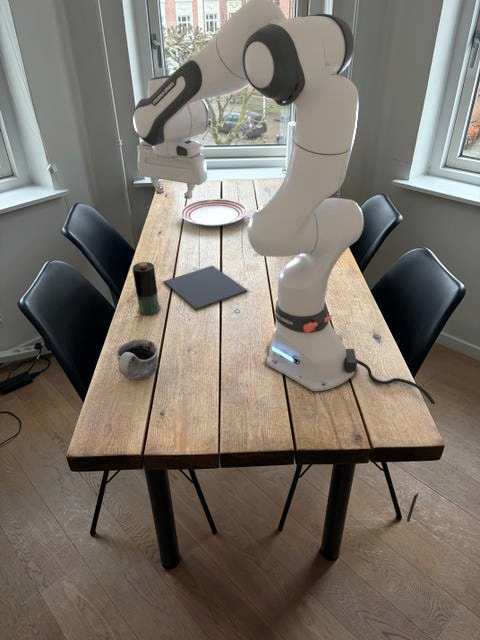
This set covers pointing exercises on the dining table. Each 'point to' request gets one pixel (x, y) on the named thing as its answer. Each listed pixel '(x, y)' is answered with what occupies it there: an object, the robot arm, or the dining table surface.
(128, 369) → the mug
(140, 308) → the glass
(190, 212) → the dinner plate
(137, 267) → the black canister with knob
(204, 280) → the mat
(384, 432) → the dining table surface
